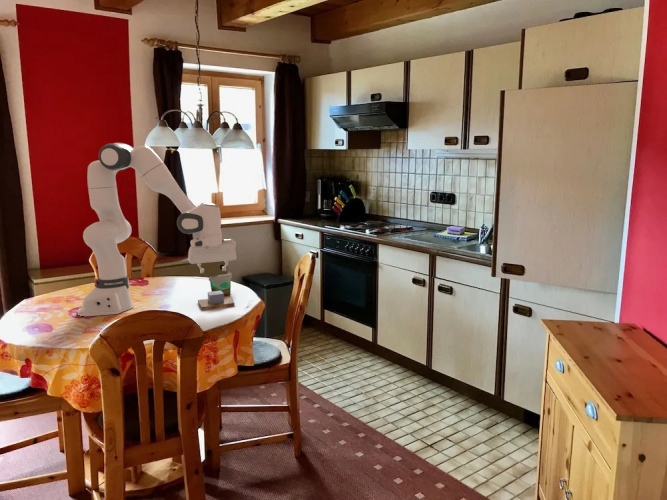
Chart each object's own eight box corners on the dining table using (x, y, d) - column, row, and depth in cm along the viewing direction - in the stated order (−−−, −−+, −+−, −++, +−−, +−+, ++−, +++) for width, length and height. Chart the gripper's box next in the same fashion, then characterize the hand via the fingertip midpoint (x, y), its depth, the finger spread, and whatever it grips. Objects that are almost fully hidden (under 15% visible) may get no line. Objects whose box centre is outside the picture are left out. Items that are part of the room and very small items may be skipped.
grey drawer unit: (210, 304, 232) (209, 294, 231) (208, 300, 237) (207, 291, 237) (224, 302, 234) (223, 293, 233) (221, 299, 240) (221, 290, 239)
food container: (218, 299, 245) (217, 278, 243) (209, 297, 249) (208, 276, 247) (238, 293, 255) (237, 272, 253) (229, 291, 258) (228, 271, 256)
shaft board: (201, 310, 229) (201, 300, 228) (198, 303, 240) (197, 293, 239) (234, 306, 234) (234, 296, 233) (229, 299, 245) (228, 289, 244)
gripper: (234, 237, 237) (235, 268, 240) (186, 241, 230) (188, 272, 233) (237, 239, 232) (238, 271, 234) (188, 243, 224) (190, 275, 227)
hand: (213, 271), depth 233 cm, fingers open, 8 cm apart
